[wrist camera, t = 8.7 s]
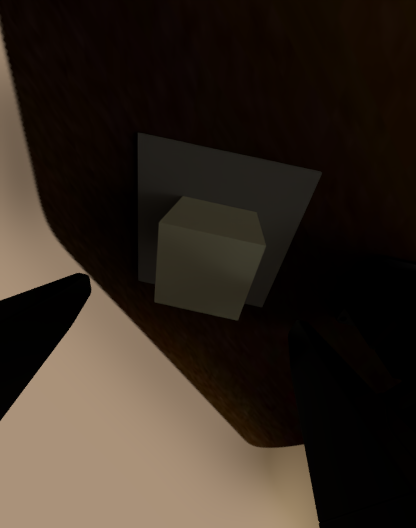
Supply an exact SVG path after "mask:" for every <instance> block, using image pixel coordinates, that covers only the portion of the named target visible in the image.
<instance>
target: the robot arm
mask: <svg viewBox="0 0 416 528" xmlns="http://www.w3.org/2000/svg"><path fill="white" fill-rule="evenodd" d="M384 262H385V263H384ZM382 263H384V264H383V265H381V264H382ZM90 294H91V285H90V278H89V276H88V275H86V274H82V273H76V274H73V275H70V276H68V277H65V278H62V279H59V280H56V281H54V282H51V283H48V284H45V285H43V286H40V287H37V288H34V289H31V290H29V291H26V292H23V293H20V294H17V295H15V296H12V297H9V298H6V299H3V300H1V301H0V421H1V419H2V418H3V416H4V415H5V414H6V413H7V411H8V410H9V408H10V407H11V406H12V405H13V403H14V402H15V401H16V399H17V398H18V397H19V395H20V394H21V393H22V391H23V390H24V389H25V387H26V386H27V385H28V383H29V382H30V381H31V379H32V378H33V376H34V375H35V374H36V373H37V371H38V370H39V369H40V367H41V366H42V365H43V363H44V362H45V361H46V359H47V358H48V357H49V355H50V354H51V353H52V351H53V350H54V348H55V347H56V346H57V345H58V343H59V342H60V341H61V339H62V338H63V337H64V335H65V334H66V333H67V331H68V330H69V328H70V327H71V326H72V324H73V323H74V321H75V319H76V318H77V316H78V314H79V313H80V311H81V309H82V308H83V306H84V304H85V303H86V301H87V299H88V297H89V296H90ZM335 318H336V320H337V321H338V322H339V323H343V324H348V325H353V326H356V327H357V328H358V330H359V331H360V333H361V335H362V336H363V338H364V339H365V341H366V342H367V344H368V346H369V347H370V348H371V349H374V350H375V352H376V353H377V355H378V356H379V358H380V359H381V361H382V362H383V364H384V365H385V367H386V368H387V370H388V371H389V373H390V374H391V376H392V377H393V378H396V379H401V380H402V382H401V383H399V384H397V385H396V386H394V387H392V388H391V389H389V390H388V391H386V392H384V393H379V394H376V393H375V392H374V391H373V390H372V389H371V388H370V387H369V385H368V384H367V383H366V382H365V381H364V380H363V379H362V378H361V377H360V376H359V375H358V374H357V373H356V372H355V371H354V370H353V369H352V368H351V367H350V366H349V365H348V364H347V363H346V362H345V361H344V359H343V358H342V357H341V356H340V355H339V354H338V353H337V352H336V351H335V350H334V349H333V348H332V347H331V346H330V345H329V344H328V343H327V342H326V341H325V340H324V339H323V338H322V337H321V336H320V335H319V333H318V332H317V331H316V330H315V329H314V328H313V327H312V326H311V325H310V324H309V323H308V322H306V321H301V320H297V321H296V322H295V323H294V325H293V326H292V328H291V330H290V331H289V334H288V342H289V355H290V368H291V376H292V381H293V387H294V392H295V397H296V403H297V408H298V414H299V419H300V424H301V430H302V435H303V440H304V446H305V451H306V457H307V462H308V467H309V473H310V478H311V483H312V489H313V494H314V499H315V505H316V510H317V516H318V521H319V522H320V523H319V527H320V528H416V263H415V262H410V261H406V260H401V259H396V258H392V257H387V256H381V257H379V258H377V259H376V260H375V261H374V262H373V263H372V265H371V266H370V268H369V269H368V270H367V272H366V273H365V274H364V276H363V277H362V279H361V280H360V281H359V283H358V284H357V285H356V287H355V288H354V289H353V291H352V292H351V294H350V295H349V296H348V298H347V299H346V300H345V302H344V303H343V305H342V306H341V307H340V309H339V310H338V311H337V313H336V314H335Z"/></svg>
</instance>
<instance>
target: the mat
mask: <svg viewBox="0 0 416 528" xmlns="http://www.w3.org/2000/svg"><path fill="white" fill-rule="evenodd" d="M321 174H322V172H320V171H316V170H311V169H307V168H302V167H297V166H293V165H288V164H283V163H279V162H274V161H270V160H265V159H260V158H256V157H251V156H246V155H242V154H237V153H232V152H228V151H223V150H218V149H214V148H209V147H205V146H200V145H195V144H191V143H186V142H181V141H177V140H172V139H167V138H163V137H158V136H154V135H149V134H144V133H138V281H142V282H147V283H152V284H155V282H156V265H157V248H158V231H159V222H160V221H161V220H162V218H163V217H164V216H165V215H166V214H167V213H168V212H169V211H170V210H171V209H172V207H173V206H174V205H175V204H176V203H177V202H178V201H179V200H180V199H181V198H182V196H185V197H190V198H194V199H199V200H203V201H208V202H212V203H217V204H221V205H226V206H230V207H235V208H240V209H244V210H249V211H253V212H257V215H258V219H259V222H260V226H261V230H262V233H263V237H264V240H265V244H266V248H265V250H264V253H263V255H262V258H261V261H260V263H259V266H258V269H257V271H256V274H255V276H254V279H253V282H252V284H251V287H250V290H249V292H248V295H247V297H246V300H245V303H244V304H249V305H253V306H258V307H263V304H264V302H265V300H266V298H267V295H268V293H269V291H270V289H271V286H272V284H273V282H274V280H275V277H276V275H277V273H278V271H279V268H280V266H281V264H282V262H283V259H284V257H285V255H286V253H287V250H288V248H289V246H290V244H291V241H292V239H293V237H294V235H295V232H296V230H297V228H298V226H299V223H300V221H301V219H302V217H303V214H304V212H305V210H306V208H307V206H308V203H309V201H310V199H311V197H312V194H313V192H314V190H315V188H316V185H317V183H318V181H319V179H320V176H321Z"/></svg>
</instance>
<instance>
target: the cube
mask: <svg viewBox="0 0 416 528" xmlns="http://www.w3.org/2000/svg"><path fill="white" fill-rule="evenodd" d="M265 248H266V244H265V240H264V237H263V233H262V230H261V226H260V222H259V219H258V215H257V212H253V211H249V210H244V209H240V208H235V207H230V206H226V205H221V204H217V203H212V202H208V201H203V200H199V199H194V198H190V197H185V196H182V198H181V199H180V200H179V201H178V202H177V203H176V204H175V205H174V206H173V207H172V209H171V210H170V211H169V212H168V213H167V214H166V215H165V216H164V217H163V218H162V220H161V221H160V222H159V231H158V248H157V265H156V282H155V299H154V302H156V303H160V304H165V305H169V306H174V307H178V308H183V309H188V310H192V311H197V312H201V313H206V314H210V315H215V316H219V317H224V318H229V319H233V320H238V318H239V316H240V313H241V311H242V308H243V305H244V303H245V300H246V297H247V295H248V292H249V290H250V287H251V284H252V282H253V279H254V276H255V274H256V271H257V269H258V266H259V263H260V261H261V258H262V255H263V253H264V250H265Z"/></svg>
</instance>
